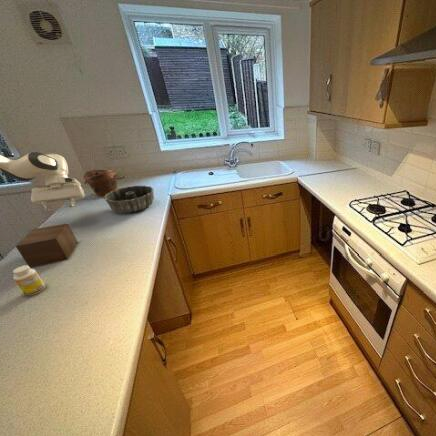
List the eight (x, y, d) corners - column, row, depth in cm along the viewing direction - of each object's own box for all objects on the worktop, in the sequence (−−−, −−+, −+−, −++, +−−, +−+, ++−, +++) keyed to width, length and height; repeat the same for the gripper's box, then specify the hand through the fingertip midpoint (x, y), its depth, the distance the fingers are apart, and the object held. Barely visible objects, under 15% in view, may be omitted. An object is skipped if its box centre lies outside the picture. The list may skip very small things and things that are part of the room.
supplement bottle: (27, 288, 89) (12, 267, 84) (47, 283, 91) (33, 261, 87) (22, 298, 85) (6, 276, 80) (43, 292, 87) (29, 270, 82)
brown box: (44, 249, 112) (32, 229, 107) (78, 242, 116) (68, 223, 111) (29, 267, 100) (15, 246, 95) (67, 259, 105) (56, 238, 100)
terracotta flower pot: (94, 191, 178) (84, 168, 170) (125, 187, 185) (117, 164, 176) (86, 200, 163) (75, 175, 155) (120, 195, 170) (111, 171, 162)
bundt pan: (165, 204, 156) (161, 190, 151) (122, 220, 136) (115, 204, 132) (144, 196, 169) (140, 182, 164) (102, 209, 150) (96, 194, 145)
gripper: (27, 184, 117) (28, 209, 113) (78, 178, 124) (81, 202, 121) (35, 189, 122) (37, 214, 119) (84, 183, 130) (87, 206, 127)
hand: (59, 208), depth 120 cm, fingers open, 8 cm apart
